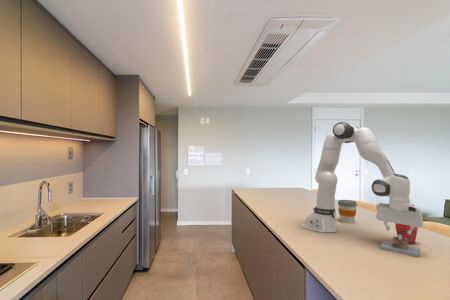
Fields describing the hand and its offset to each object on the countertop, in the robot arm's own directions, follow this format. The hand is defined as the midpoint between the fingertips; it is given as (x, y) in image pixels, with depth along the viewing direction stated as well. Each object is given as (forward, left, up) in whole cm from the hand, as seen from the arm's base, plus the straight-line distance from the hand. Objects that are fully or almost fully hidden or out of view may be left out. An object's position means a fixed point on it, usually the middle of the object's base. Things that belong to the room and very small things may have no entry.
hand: (398, 232), depth 134 cm
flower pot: (+2, +18, -10) cm, 20 cm away
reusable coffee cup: (-36, +42, -10) cm, 56 cm away
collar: (+1, +1, -8) cm, 8 cm away
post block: (+1, +1, -9) cm, 9 cm away
